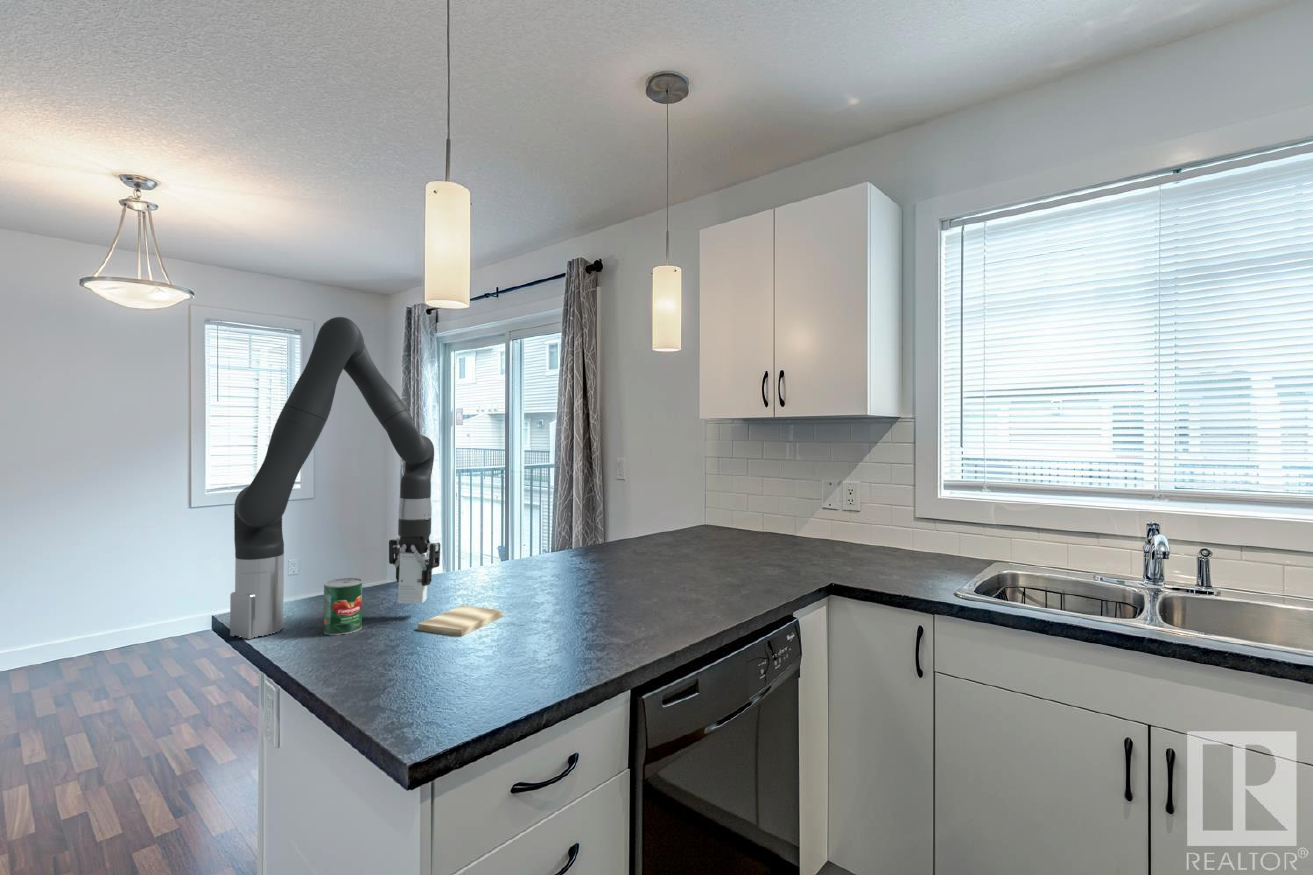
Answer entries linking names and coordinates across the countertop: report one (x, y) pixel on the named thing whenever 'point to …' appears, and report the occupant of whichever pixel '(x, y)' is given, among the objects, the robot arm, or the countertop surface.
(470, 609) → the birch board
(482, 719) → the countertop surface
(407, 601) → the skincare box
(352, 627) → the canned tomato
